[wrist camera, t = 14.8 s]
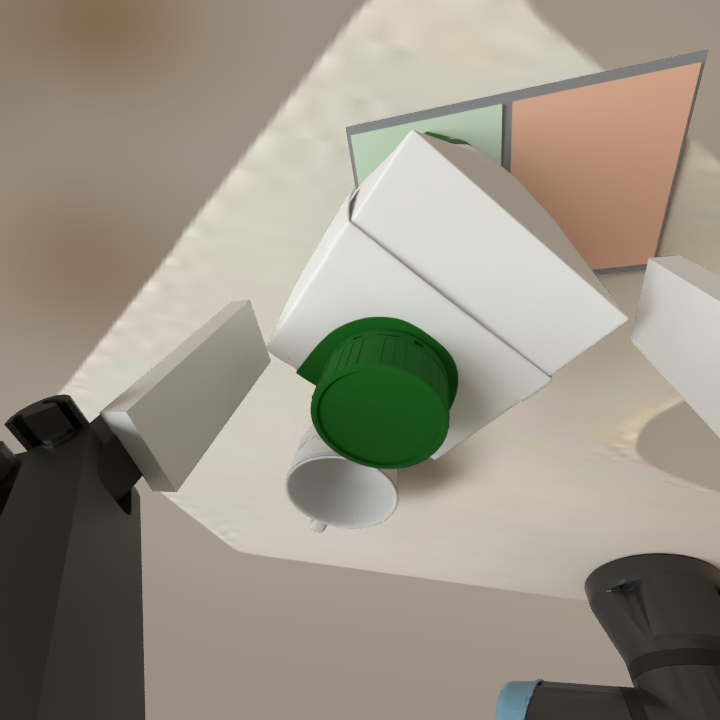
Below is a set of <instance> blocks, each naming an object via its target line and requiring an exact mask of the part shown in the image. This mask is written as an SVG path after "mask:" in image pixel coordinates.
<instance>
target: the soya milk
mask: <svg viewBox="0 0 720 720" xmlns="http://www.w3.org/2000/svg"><path fill="white" fill-rule="evenodd" d="M356 188H357V187H356V186H355V187H354V188H353V189H352V191H351V192H350V194H349V195H348V197H347V198H346V200H345V202H344V203H343V205H342V206H341V208H340V210H339V211H338V213H337V214H336V216H335V218H334V220H333V222H332V223H331V225H330V227H329V228H328V230H327V231H326V233H325V235H324V236H323V238H322V240H321V241H320V243H319V245H318V247H317V248H316V250H315V252H314V254H313V255H312V257H311V259H310V261H309V262H308V264H307V266H306V268H305V269H304V271H303V273H302V275H301V276H300V278H299V280H298V282H297V284H296V286H295V288H294V290H293V292H292V294H291V296H290V298H289V300H288V302H287V304H286V306H285V308H284V310H283V312H282V315H281V317H280V319H279V321H278V323H277V325H276V327H275V329H274V331H273V334H272V336H271V338H270V340H269V342H268V344H267V347H266V348H267V350H268V351H269V352H270V353H271V354H273V355H274V356H276V357H277V358H279V359H281V360H282V361H284V362H286V363H287V364H289V365H291V366H292V367H294V368H296V369H297V372H296V373H297V374H298V375H300V376H301V377H303V378H304V379H306V380H307V381H309V382H311V383H312V384H314V385H316V389H315V391H314V394H313V396H312V402H311V417H312V421H313V424H314V427H315V429H316V431H317V433H318V435H319V436H320V437H321V439H322V440H323V441H324V442H325V443H326V444H327V445H328V446H329V447H330V448H331V449H332V450H333V451H335V452H336V453H337V454H339V455H340V456H342V457H344V458H346V459H348V460H350V461H352V462H354V463H357V464H360V465H363V466H367V467H372V468H379V469H398V468H404V467H409V466H412V465H415V464H418V463H420V462H422V461H424V460H426V459H428V458H429V457H430V458H432V459H434V460H436V459H438V458H439V457H441V456H442V455H444V454H445V453H446V452H448V451H449V450H451V449H452V448H454V447H455V446H457V445H458V444H460V443H461V442H462V441H464V440H465V439H467V438H468V437H470V436H471V435H473V434H474V433H475V432H477V431H478V430H480V429H481V428H483V427H484V426H485V425H487V424H488V423H490V422H491V421H493V420H494V419H496V418H497V417H498V416H500V415H501V414H503V413H504V412H506V411H507V410H509V409H510V408H511V407H513V406H514V405H516V404H517V403H518V402H520V401H523V400H525V399H527V398H529V397H530V396H532V395H533V394H535V393H536V392H538V391H539V390H540V389H542V388H543V387H545V386H546V385H547V384H549V383H550V382H551V381H552V374H554V373H555V372H557V371H558V370H559V369H561V368H562V367H564V366H565V365H566V364H568V363H569V362H571V361H572V360H573V359H575V358H576V357H578V356H579V355H580V354H582V353H583V352H585V351H586V350H587V349H589V348H590V347H591V346H593V345H594V344H596V343H597V342H598V341H600V340H601V339H603V338H604V337H605V336H607V335H608V334H610V333H611V332H612V331H614V330H615V329H616V328H618V327H619V326H621V325H622V324H623V323H625V322H626V321H627V320H628V317H627V316H626V315H625V313H624V312H623V311H622V309H621V308H620V307H619V306H618V304H617V303H616V302H615V300H614V299H613V298H612V297H611V295H610V294H609V293H608V291H607V290H606V289H605V287H604V286H603V285H602V283H601V282H600V281H599V279H598V278H597V277H596V275H595V274H594V273H593V271H592V270H591V269H590V267H589V266H588V265H587V263H586V262H585V261H584V259H583V258H582V257H581V255H580V254H579V253H578V251H577V250H576V248H575V247H574V246H573V244H572V243H571V242H570V240H569V239H568V238H567V236H566V235H565V234H564V232H563V231H562V230H561V228H560V227H559V226H558V224H557V223H556V222H555V220H554V219H553V218H552V217H551V215H550V214H549V213H548V212H547V211H546V209H545V208H544V207H543V206H542V205H541V204H540V203H538V202H537V201H536V199H535V198H534V197H533V196H532V195H531V194H530V192H529V191H528V190H527V189H526V188H525V187H524V186H523V185H522V184H521V183H520V182H519V181H518V180H517V179H516V178H515V177H514V176H513V175H512V174H511V173H509V172H508V171H507V170H506V169H505V168H503V167H502V166H500V165H499V164H498V163H496V162H495V161H493V160H492V159H491V158H489V157H488V156H486V155H485V154H484V153H482V152H481V151H479V150H478V149H476V148H475V147H473V146H472V145H470V144H469V143H467V142H466V141H463V140H460V139H457V138H453V137H449V136H444V135H440V134H436V133H432V132H428V131H426V132H425V133H424V134H423V133H420V132H418V131H416V130H412V131H410V132H409V134H408V135H407V136H406V137H405V138H404V139H403V140H402V142H401V143H400V144H399V145H398V146H397V147H396V149H395V150H394V151H393V152H392V153H391V154H390V155H389V156H388V157H387V158H386V159H385V160H384V161H383V162H382V163H381V164H380V165H379V166H378V167H377V168H376V169H375V170H374V171H373V172H372V173H371V174H370V175H369V176H367V177H366V178H365V180H364V181H363V182H362V183H361V185H360V186H359V187H358V188H357V190H356V191H355V189H356ZM354 191H355V193H354ZM353 193H354V194H353ZM352 195H353V196H352Z"/></svg>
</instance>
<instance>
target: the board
mask: <svg viewBox="0 0 720 720" xmlns="http://www.w3.org/2000/svg"><path fill="white" fill-rule="evenodd" d="M707 52H708V50H703V51H698V52H694V53H689V54H685V55H680V56H675V57H671V58H666V59H661V60H657V61H652V62H648V63H643V64H638V65H633V66H629V67H625V68H619V69H615V70H610V71H605V72H601V73H596V74H592V75H587V76H582V77H578V78H573V79H568V80H564V81H559V82H554V83H550V84H545V85H540V86H536V87H531V88H526V89H522V90H517V91H512V92H508V93H503V94H498V95H494V96H489V97H485V98H480V99H475V100H471V101H466V102H461V103H457V104H452V105H447V106H443V107H438V108H433V109H429V110H424V111H419V112H415V113H410V114H405V115H401V116H396V117H392V118H387V119H382V120H378V121H373V122H368V123H364V124H359V125H354V126H350V127H346V132H347V138H348V144H349V150H350V156H351V162H352V168H353V174H354V180H355V186H356V187H357V188H358V187H359V186H360V185H361V183H362V182H363V181H364V180H365V178H366V177H367V176H369V175H370V174H371V173H372V172H373V171H374V170H375V169H376V168H377V167H378V166H379V165H380V164H381V163H382V162H383V161H384V160H385V159H386V158H387V157H388V156H389V155H390V154H391V153H392V152H393V151H394V150H395V149H396V147H397V146H398V145H399V144H400V143H401V142H402V140H403V139H404V138H405V137H406V136H407V135H408V134H409V132H410V131H412V130H416V131H418V132H420V133H423V134H424V133H425V132H426V131H428V132H432V133H436V134H440V135H444V136H449V137H453V138H457V139H460V140H463V141H466V142H467V143H469V144H470V145H472V146H473V147H475V148H476V149H478V150H479V151H481V152H482V153H484V154H485V155H486V156H488V157H489V158H491V159H492V160H493V161H495V162H496V163H498V164H499V165H500V166H502V167H503V168H505V169H506V170H507V171H508V172H509V173H511V174H512V175H513V176H514V177H515V178H516V179H517V180H518V181H519V182H520V183H521V184H522V185H523V186H524V187H525V188H526V189H527V190H528V191H529V192H530V194H531V195H532V196H533V197H534V198H535V199H536V201H537V202H538V203H540V204H541V205H542V206H543V207H544V208H545V209H546V211H547V212H548V213H549V214H550V215H551V217H552V218H553V219H554V220H555V222H556V223H557V224H558V226H559V227H560V228H561V230H562V231H563V232H564V234H565V235H566V236H567V238H568V239H569V240H570V242H571V243H572V244H573V246H574V247H575V248H576V250H577V251H578V253H579V254H580V255H581V257H582V258H583V259H584V261H585V262H586V263H587V265H588V266H589V267H590V269H591V270H592V271H593V273H594V274H604V273H614V272H624V271H634V270H644V269H646V268H647V263H648V259H649V258H656V257H657V253H658V249H659V245H660V241H661V237H662V233H663V229H664V225H665V221H666V217H667V213H668V209H669V205H670V201H671V197H672V193H673V189H674V185H675V181H676V177H677V173H678V169H679V164H680V160H681V156H682V152H683V148H684V144H685V140H686V136H687V132H688V128H689V124H690V120H691V116H692V112H693V108H694V104H695V100H696V96H697V92H698V88H699V84H700V80H701V76H702V72H703V67H704V64H705V59H706V56H707ZM357 188H356V190H357Z"/></svg>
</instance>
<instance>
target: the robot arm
mask: <svg viewBox="0 0 720 720" xmlns="http://www.w3.org/2000/svg"><path fill="white" fill-rule="evenodd" d="M630 341H631V342H632V343H633V344H634V345H635V346H636V347H637V348H638V349H639V350H640V352H641V353H642V354H643V355H644V356H645V357H646V358H647V359H648V360H649V361H650V362H651V364H652V365H653V366H654V367H655V368H656V369H657V370H658V371H659V372H660V373H661V374H662V376H663V377H664V378H665V379H666V380H667V381H668V382H669V383H670V384H671V385H672V386H673V388H674V389H675V390H676V391H677V392H678V393H679V394H680V395H681V396H682V397H683V399H684V400H685V401H686V402H687V403H688V404H689V405H690V406H691V407H692V408H693V409H694V411H696V413H697V414H698V415H699V416H700V417H701V418H702V419H703V420H704V421H705V423H706V424H707V425H708V426H709V427H710V428H711V429H712V430H713V431H714V432H715V433H716V435H717V436H718V437H719V438H720V276H719V275H717V274H715V273H713V272H711V271H709V270H707V269H705V268H703V267H701V266H699V265H698V264H696V263H694V262H692V261H690V260H688V259H686V258H684V257H682V256H680V255H675V256H665V257H656V258H649V259H648V263H647V268H646V272H645V277H644V281H643V285H642V290H641V294H640V299H639V303H638V307H637V312H636V316H635V321H634V325H633V329H632V334H631V338H630ZM270 362H271V360H270V357H269V354H268V351H267V348H266V346H265V343H264V340H263V337H262V334H261V331H260V328H259V325H258V322H257V320H256V317H255V314H254V311H253V308H252V305H251V302H250V300H243V301H233V302H231V303H230V304H228V305H227V306H226V307H225V308H224V309H222V310H221V311H220V312H219V313H218V314H216V315H215V316H214V317H213V318H212V319H211V320H209V321H208V322H207V323H206V324H205V325H203V326H202V327H201V328H200V329H199V330H197V331H196V332H195V333H194V334H193V335H191V336H190V337H189V338H188V339H187V340H185V341H184V342H183V343H182V344H181V345H179V346H178V347H177V348H176V349H175V350H174V351H172V352H171V353H170V354H169V355H168V356H166V357H165V358H164V359H163V360H162V361H160V362H159V363H158V364H157V365H156V366H154V367H153V368H152V369H151V370H150V371H148V372H147V373H146V374H145V375H144V376H142V377H141V378H140V379H139V380H138V381H136V382H135V383H134V384H133V385H132V386H131V387H129V388H128V389H127V390H126V391H125V392H123V393H122V394H121V395H120V396H119V397H117V398H116V399H115V400H114V401H113V402H111V403H110V404H109V405H108V406H107V407H105V408H104V409H103V410H102V411H101V412H99V413H100V415H99V416H98V417H96V418H95V419H94V420H93V421H92V422H91V423H89V422H88V420H87V419H86V418H85V416H84V415H83V413H82V412H81V411H80V409H79V408H78V406H77V405H76V404H75V402H74V401H73V399H72V398H71V396H69V395H65V394H64V395H56V396H52V397H49V398H46V399H43V400H40V401H38V402H36V403H33V404H31V405H29V406H27V407H26V408H24V409H22V410H20V411H19V412H17V413H16V414H15V415H14V416H12V417H11V418H10V419H9V420H8V421H7V422H6V423H5V426H6V427H7V428H8V429H9V430H10V431H11V433H12V434H13V435H14V436H15V437H16V438H17V439H18V441H19V442H20V443H21V444H22V445H23V446H24V447H25V449H26V450H27V452H23V453H19V454H14V453H13V452H12V451H11V450H10V449H9V448H8V447H7V445H6V444H5V443H4V442H3V441H0V720H145V694H144V693H145V692H144V691H145V690H144V649H143V608H142V568H141V567H142V565H141V526H140V525H141V521H140V496H139V493H138V491H137V490H136V488H135V487H134V485H135V484H136V482H137V481H138V480H139V479H140V478H141V477H142V476H143V477H144V479H145V480H146V482H147V483H148V485H149V486H150V488H151V489H152V491H163V492H177V491H178V489H179V488H180V487H181V485H182V484H183V483H184V481H185V480H186V478H187V477H188V476H189V474H190V473H191V471H192V470H193V469H194V467H195V466H196V464H197V463H198V462H199V460H200V459H201V457H202V456H203V455H204V453H205V452H206V451H207V449H208V448H209V446H210V445H211V444H212V442H213V441H214V439H215V438H216V437H217V435H218V434H219V432H220V431H221V430H222V428H223V427H224V426H225V424H226V423H227V421H228V420H229V419H230V417H231V416H232V414H233V413H234V412H235V410H236V409H237V407H238V406H239V405H240V403H241V402H242V400H243V399H244V398H245V396H246V395H247V394H248V392H249V391H250V389H251V388H252V387H253V385H254V384H255V382H256V381H257V380H258V378H259V377H260V375H261V374H262V373H263V371H264V370H265V369H266V367H267V366H268V364H269V363H270ZM585 592H586V595H587V598H588V601H589V604H590V607H591V609H592V611H593V613H594V614H595V616H596V618H597V619H598V621H599V622H600V624H601V625H602V627H603V628H604V630H605V632H606V633H607V635H608V636H609V638H610V639H611V641H612V642H613V644H614V645H615V647H616V649H617V650H618V652H619V653H620V655H621V656H622V658H623V659H624V661H625V663H626V666H627V669H628V671H629V674H630V677H631V680H632V682H633V685H634V688H631V687H614V686H601V685H588V684H574V683H561V682H547V681H543V680H542V679H537V680H535V681H512V682H508V683H507V684H505V685H504V686H503V688H502V689H501V691H500V694H499V696H498V700H497V705H496V712H495V720H720V571H719V570H718V569H716V568H715V567H713V566H711V565H709V564H707V563H705V562H702V561H700V560H696V559H693V558H688V557H683V556H676V555H663V554H653V555H639V556H633V557H627V558H623V559H619V560H616V561H613V562H610V563H608V564H605V565H603V566H601V567H600V568H598V569H596V570H595V571H594V572H593V573H591V574H590V576H589V577H588V578H587V580H586V582H585Z"/></svg>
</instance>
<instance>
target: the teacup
mask: <svg viewBox="0 0 720 720" xmlns="http://www.w3.org/2000/svg"><path fill="white" fill-rule="evenodd" d="M397 479H398V469H379V468H372V467H367V466H363V465H360V464H357V463H354V462H352V461H350V460H348V459H346V458H344V457H342V456H340V455H339V454H337V453H336V452H335V451H333V450H332V449H331V448H330V447H329V446H328V445H327V444H326V443H325V442H324V441H323V440H322V439H321V437H320V436H319V435H318V433H317V431H316V429H315V427H314V425H313V426H312V427H311V428H310V429H309V430H308V431H307V432H306V434H305V435H304V437H303V439H302V441H301V443H300V445H299V447H298V450H297V452H296V455H295V457H294V460H293V463H292V466H291V469H290V470H289V472H288V474H287V476H286V480H285V491H286V494H287V496H288V498H289V500H290V501H291V503H292V504H293V505H294V506H295V507H296V508H297V509H298V510H299V511H300V512H302V513H303V514H305V515H306V516H308V517H310V518H311V522H310V528H311V529H312V530H313V531H316V532H323V531H324V530H325V528H326V526H327V525H330V526H334V527H340V528H349V529H356V528H364V527H370V526H373V525H376V524H379V523H381V522H383V521H385V520H387V519H388V518H389V517H390V516H391V515H392V514H393V513H394V511H395V510H396V507H397V505H398V491H397Z"/></svg>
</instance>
